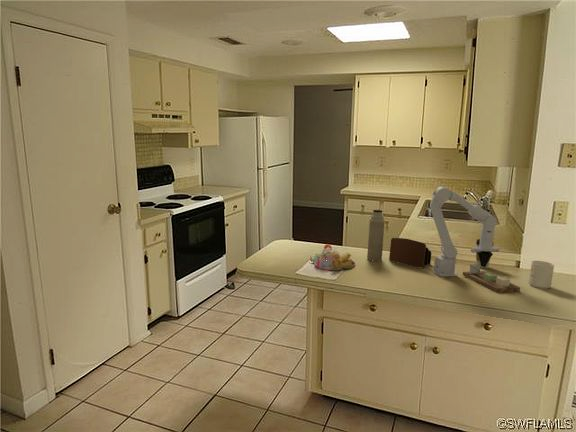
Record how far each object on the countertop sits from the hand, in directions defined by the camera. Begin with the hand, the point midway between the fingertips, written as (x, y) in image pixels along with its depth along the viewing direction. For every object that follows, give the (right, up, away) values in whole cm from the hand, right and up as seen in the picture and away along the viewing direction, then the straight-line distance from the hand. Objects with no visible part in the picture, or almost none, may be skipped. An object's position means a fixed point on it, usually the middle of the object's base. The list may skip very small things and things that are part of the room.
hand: (483, 266), depth 196 cm
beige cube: (+1, -7, -15) cm, 17 cm away
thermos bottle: (-48, 0, +27) cm, 55 cm away
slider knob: (-4, -3, 0) cm, 6 cm away
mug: (+22, -8, -7) cm, 25 cm away
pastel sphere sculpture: (-73, -1, +16) cm, 75 cm away
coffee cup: (+9, -3, +20) cm, 22 cm away
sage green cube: (0, -7, -7) cm, 10 cm away
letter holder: (-29, -1, +23) cm, 37 cm away
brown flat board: (0, -7, -7) cm, 10 cm away
